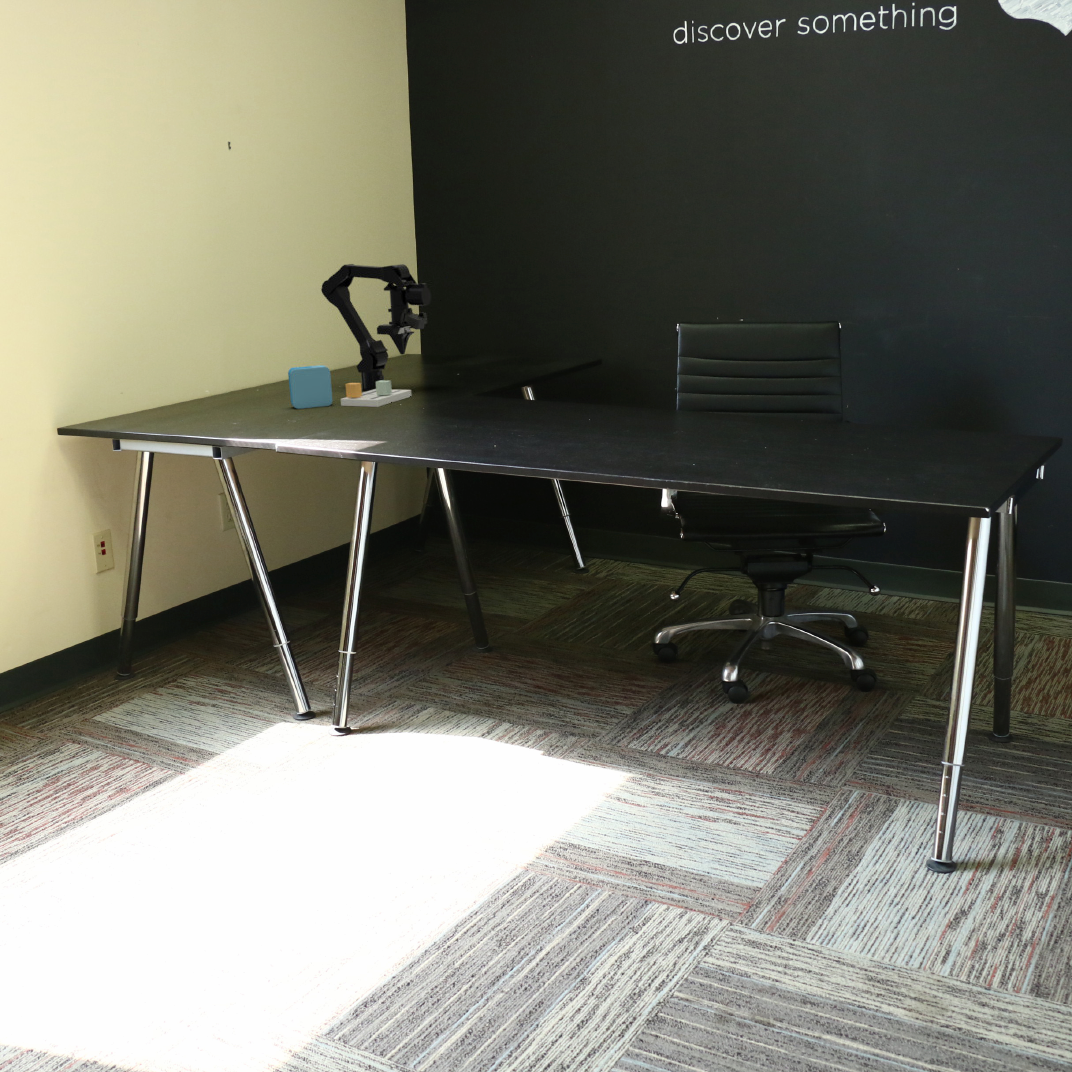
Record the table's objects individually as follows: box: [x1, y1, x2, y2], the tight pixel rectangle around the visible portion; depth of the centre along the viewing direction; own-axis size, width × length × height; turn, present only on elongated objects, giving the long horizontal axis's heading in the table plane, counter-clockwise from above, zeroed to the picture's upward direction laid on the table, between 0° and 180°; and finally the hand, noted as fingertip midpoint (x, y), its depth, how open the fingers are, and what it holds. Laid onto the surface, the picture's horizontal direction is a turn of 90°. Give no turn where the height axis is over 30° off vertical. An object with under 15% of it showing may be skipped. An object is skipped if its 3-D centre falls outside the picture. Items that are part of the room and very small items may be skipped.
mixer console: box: [340, 388, 412, 408], centre depth 362 cm, size 13×20×2 cm, turn 155°
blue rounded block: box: [287, 364, 334, 410], centre depth 356 cm, size 12×4×12 cm, turn 110°
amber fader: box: [345, 382, 363, 398], centre depth 357 cm, size 4×3×4 cm
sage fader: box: [376, 380, 392, 395], centre depth 359 cm, size 4×3×4 cm
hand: (402, 354), depth 377 cm, fingers closed
